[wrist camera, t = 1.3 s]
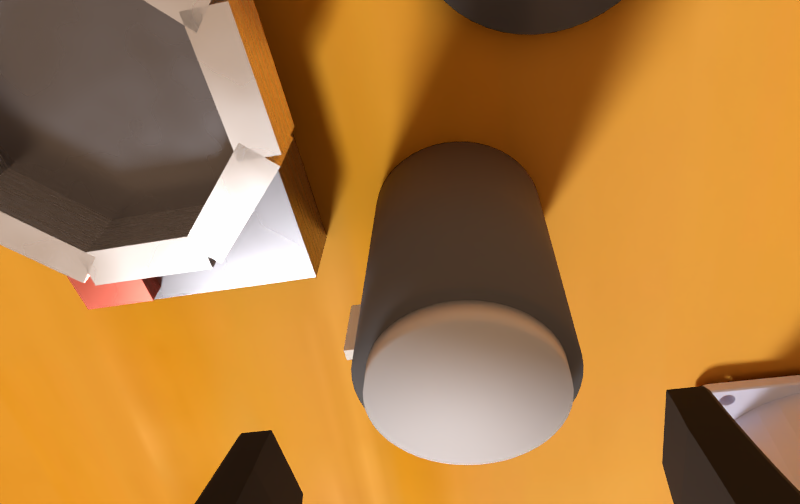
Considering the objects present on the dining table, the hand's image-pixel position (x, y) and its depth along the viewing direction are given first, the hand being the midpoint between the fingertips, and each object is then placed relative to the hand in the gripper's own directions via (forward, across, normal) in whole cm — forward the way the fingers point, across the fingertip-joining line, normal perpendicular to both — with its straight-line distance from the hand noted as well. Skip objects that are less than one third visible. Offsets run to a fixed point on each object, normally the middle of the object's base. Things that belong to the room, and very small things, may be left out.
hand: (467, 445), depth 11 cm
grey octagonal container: (+8, +7, -5) cm, 12 cm away
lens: (+8, 0, 0) cm, 8 cm away
